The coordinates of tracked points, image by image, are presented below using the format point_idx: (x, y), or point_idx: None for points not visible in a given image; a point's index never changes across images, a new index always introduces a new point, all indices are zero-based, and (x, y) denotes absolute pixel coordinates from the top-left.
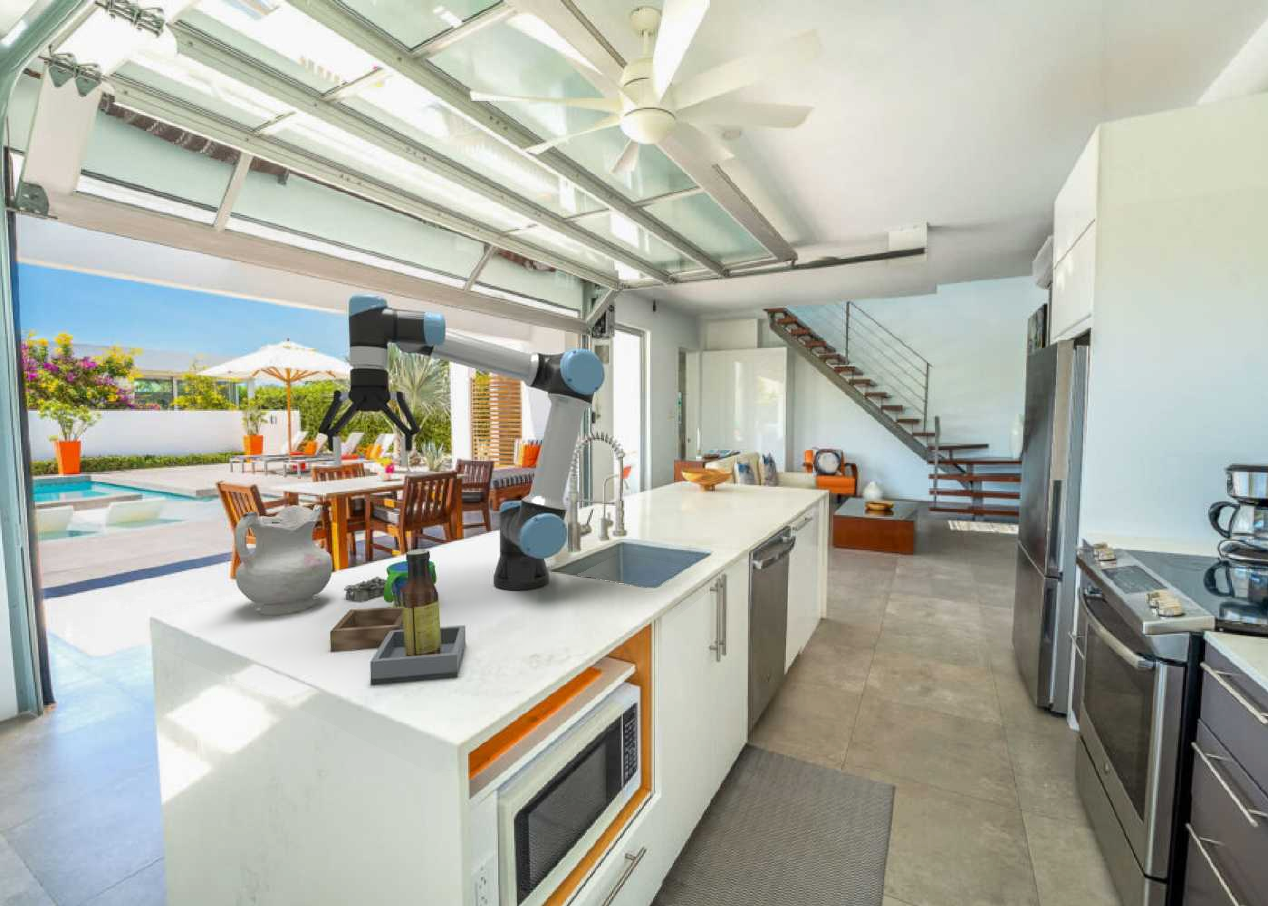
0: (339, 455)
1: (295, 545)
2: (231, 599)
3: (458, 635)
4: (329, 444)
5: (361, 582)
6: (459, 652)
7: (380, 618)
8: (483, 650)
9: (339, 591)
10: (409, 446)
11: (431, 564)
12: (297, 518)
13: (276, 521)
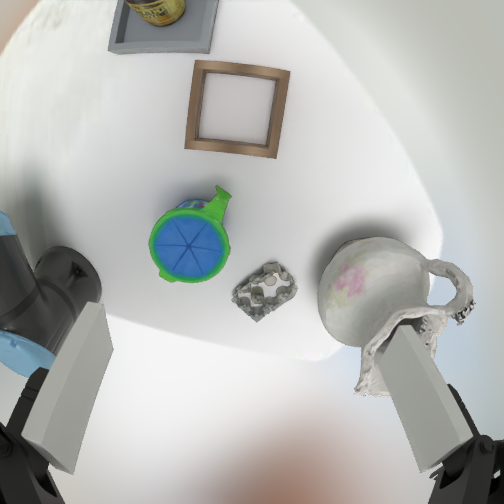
0: (405, 384)
1: (382, 299)
2: None
3: (118, 18)
4: (462, 408)
5: (276, 308)
6: None
7: (230, 142)
8: (100, 37)
9: (302, 310)
10: (33, 387)
11: (153, 247)
12: None
13: None
